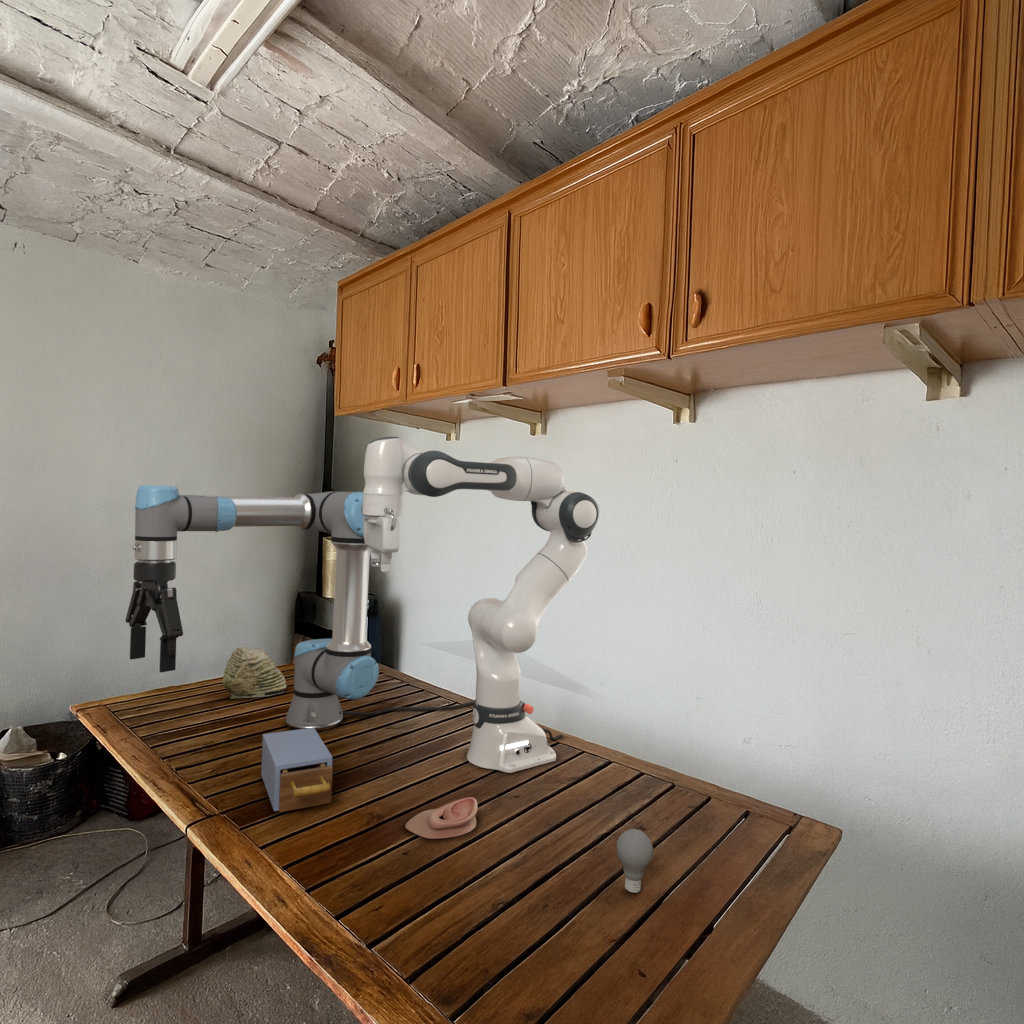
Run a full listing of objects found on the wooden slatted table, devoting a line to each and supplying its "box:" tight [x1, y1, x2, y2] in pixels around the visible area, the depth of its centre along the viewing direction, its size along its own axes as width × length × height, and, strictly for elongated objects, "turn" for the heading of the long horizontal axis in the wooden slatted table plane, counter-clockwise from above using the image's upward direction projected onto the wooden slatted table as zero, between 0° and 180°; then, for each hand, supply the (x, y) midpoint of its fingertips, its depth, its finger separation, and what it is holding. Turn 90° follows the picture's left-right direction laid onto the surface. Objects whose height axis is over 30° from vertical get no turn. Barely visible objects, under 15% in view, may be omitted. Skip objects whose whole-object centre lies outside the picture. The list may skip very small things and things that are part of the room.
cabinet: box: [260, 727, 333, 812], centre depth 137 cm, size 18×11×9 cm, turn 29°
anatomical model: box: [404, 796, 479, 840], centre depth 124 cm, size 13×4×12 cm
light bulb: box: [615, 828, 654, 894], centre depth 106 cm, size 6×6×10 cm
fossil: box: [222, 646, 288, 699], centre depth 198 cm, size 9×18×15 cm, turn 132°
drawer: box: [278, 763, 334, 813], centre depth 132 cm, size 22×10×7 cm, turn 29°
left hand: (151, 664), depth 130 cm, fingers open, 13 cm apart
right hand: (379, 569), depth 144 cm, fingers open, 8 cm apart
